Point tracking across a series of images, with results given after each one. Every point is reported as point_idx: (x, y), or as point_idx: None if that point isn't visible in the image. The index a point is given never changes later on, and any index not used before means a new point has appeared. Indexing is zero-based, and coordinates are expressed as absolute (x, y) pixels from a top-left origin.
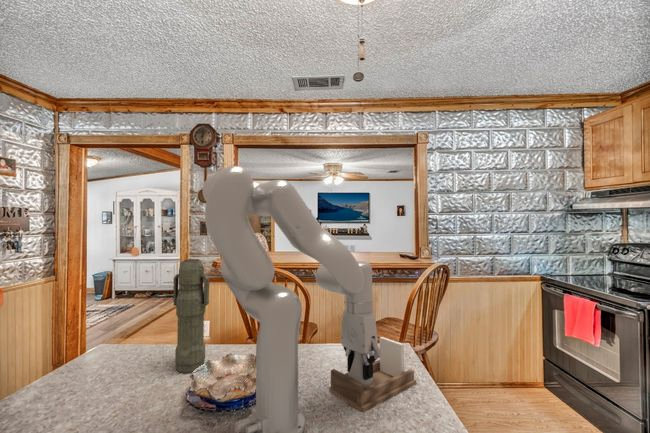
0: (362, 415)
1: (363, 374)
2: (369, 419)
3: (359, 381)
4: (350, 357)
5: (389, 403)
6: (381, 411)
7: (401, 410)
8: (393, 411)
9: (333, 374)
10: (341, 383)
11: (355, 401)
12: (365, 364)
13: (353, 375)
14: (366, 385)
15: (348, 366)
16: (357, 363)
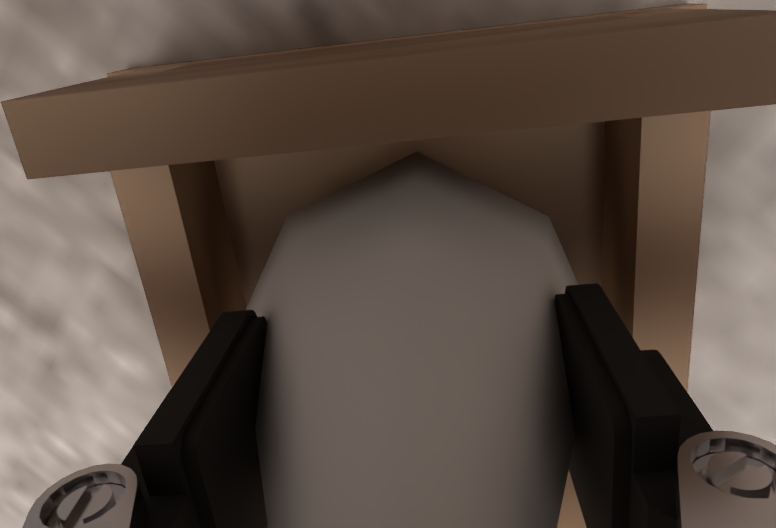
0: (89, 29)
1: (226, 341)
2: (5, 44)
3: (286, 251)
4: (630, 464)
5: (153, 361)
6: (76, 226)
7: (26, 364)
8: (37, 306)
9: (691, 21)
10: (462, 40)
11: (214, 62)
12: (128, 471)
13: (383, 245)
14: (251, 300)
15: (591, 321)
16: (344, 414)
